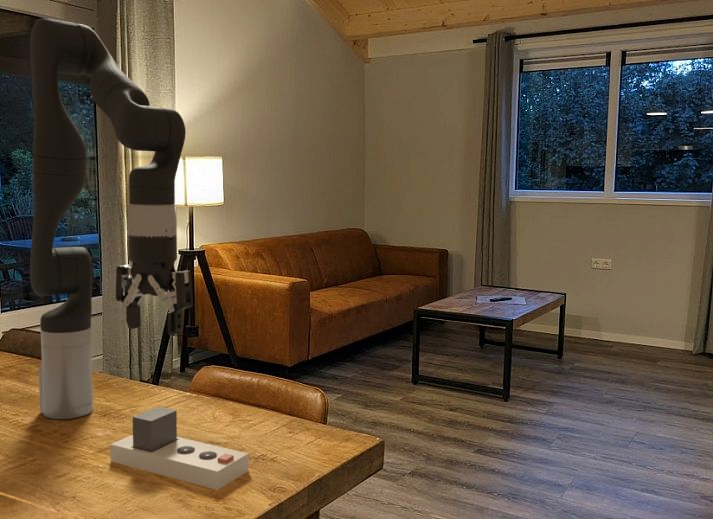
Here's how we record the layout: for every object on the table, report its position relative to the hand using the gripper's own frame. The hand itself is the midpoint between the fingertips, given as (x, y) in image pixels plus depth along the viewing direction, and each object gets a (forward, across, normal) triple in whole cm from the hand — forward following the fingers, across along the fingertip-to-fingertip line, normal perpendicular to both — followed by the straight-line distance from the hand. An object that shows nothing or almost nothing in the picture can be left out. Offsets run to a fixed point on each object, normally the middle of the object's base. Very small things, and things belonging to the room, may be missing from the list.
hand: (153, 331), depth 114 cm
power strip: (+22, +5, 0) cm, 23 cm away
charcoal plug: (+22, 0, 0) cm, 22 cm away
